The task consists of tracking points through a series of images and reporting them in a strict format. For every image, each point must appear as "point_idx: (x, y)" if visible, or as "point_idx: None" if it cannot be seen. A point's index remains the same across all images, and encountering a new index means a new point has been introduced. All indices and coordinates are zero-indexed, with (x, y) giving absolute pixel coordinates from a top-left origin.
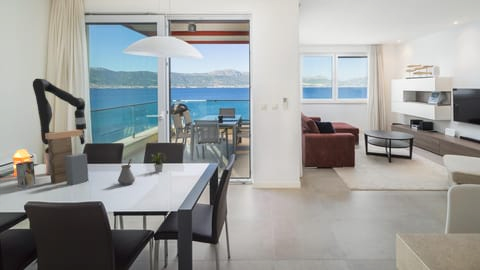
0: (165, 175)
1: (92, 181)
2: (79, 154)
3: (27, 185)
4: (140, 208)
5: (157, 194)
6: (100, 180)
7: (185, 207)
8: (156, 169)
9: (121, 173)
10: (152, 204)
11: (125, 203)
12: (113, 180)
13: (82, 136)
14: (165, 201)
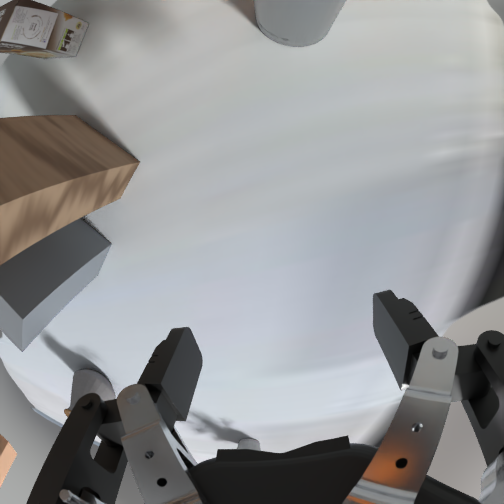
0: (196, 446)
1: (98, 290)
2: (3, 317)
3: (46, 58)
4: (10, 373)
5: (58, 405)
6: (115, 316)
7: (35, 410)
8: (238, 446)
9: (71, 394)
10: (25, 388)
11: (11, 360)
12: (122, 354)
13: (97, 460)
14: (40, 403)
